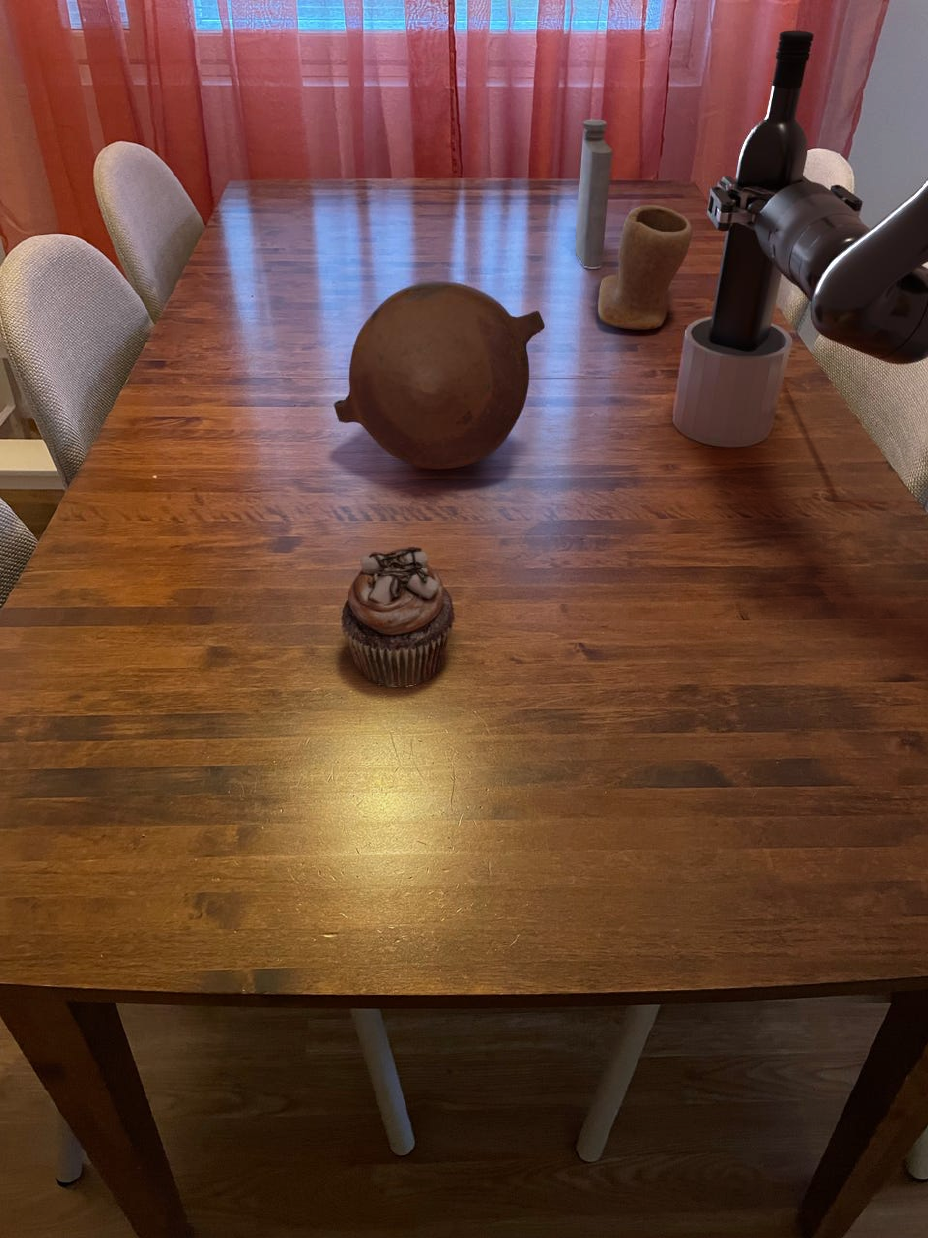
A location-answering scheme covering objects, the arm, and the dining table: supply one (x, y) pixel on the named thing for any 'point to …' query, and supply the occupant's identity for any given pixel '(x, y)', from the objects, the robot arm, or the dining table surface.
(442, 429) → the jug
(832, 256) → the robot arm
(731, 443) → the cup
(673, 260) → the brown boot vase
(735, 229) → the wine bottle
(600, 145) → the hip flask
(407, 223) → the dining table surface
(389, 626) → the cupcake
